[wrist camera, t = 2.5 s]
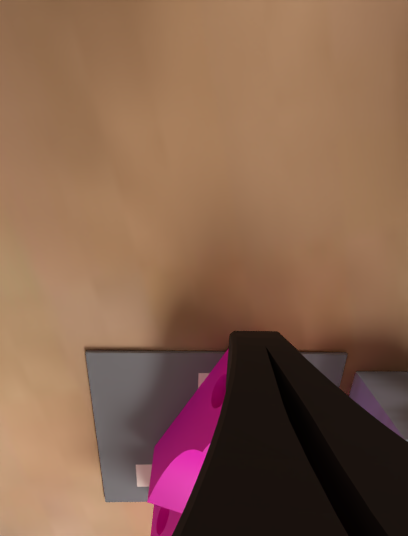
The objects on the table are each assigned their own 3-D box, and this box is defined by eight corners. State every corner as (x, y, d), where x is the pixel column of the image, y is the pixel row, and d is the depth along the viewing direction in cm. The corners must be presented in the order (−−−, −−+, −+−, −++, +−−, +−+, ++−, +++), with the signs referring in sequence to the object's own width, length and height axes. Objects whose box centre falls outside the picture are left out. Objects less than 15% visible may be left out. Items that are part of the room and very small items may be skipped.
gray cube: (429, 370, 20) (501, 439, 15) (408, 426, 22) (466, 502, 17) (355, 370, 20) (405, 439, 15) (339, 426, 21) (380, 503, 17)
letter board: (346, 352, 19) (347, 354, 19) (309, 496, 24) (310, 499, 24) (86, 350, 18) (85, 352, 18) (106, 499, 23) (105, 502, 23)
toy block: (235, 339, 18) (262, 461, 11) (316, 379, 19) (385, 511, 12) (125, 485, 22) (94, 637, 16) (197, 510, 24) (199, 659, 17)
